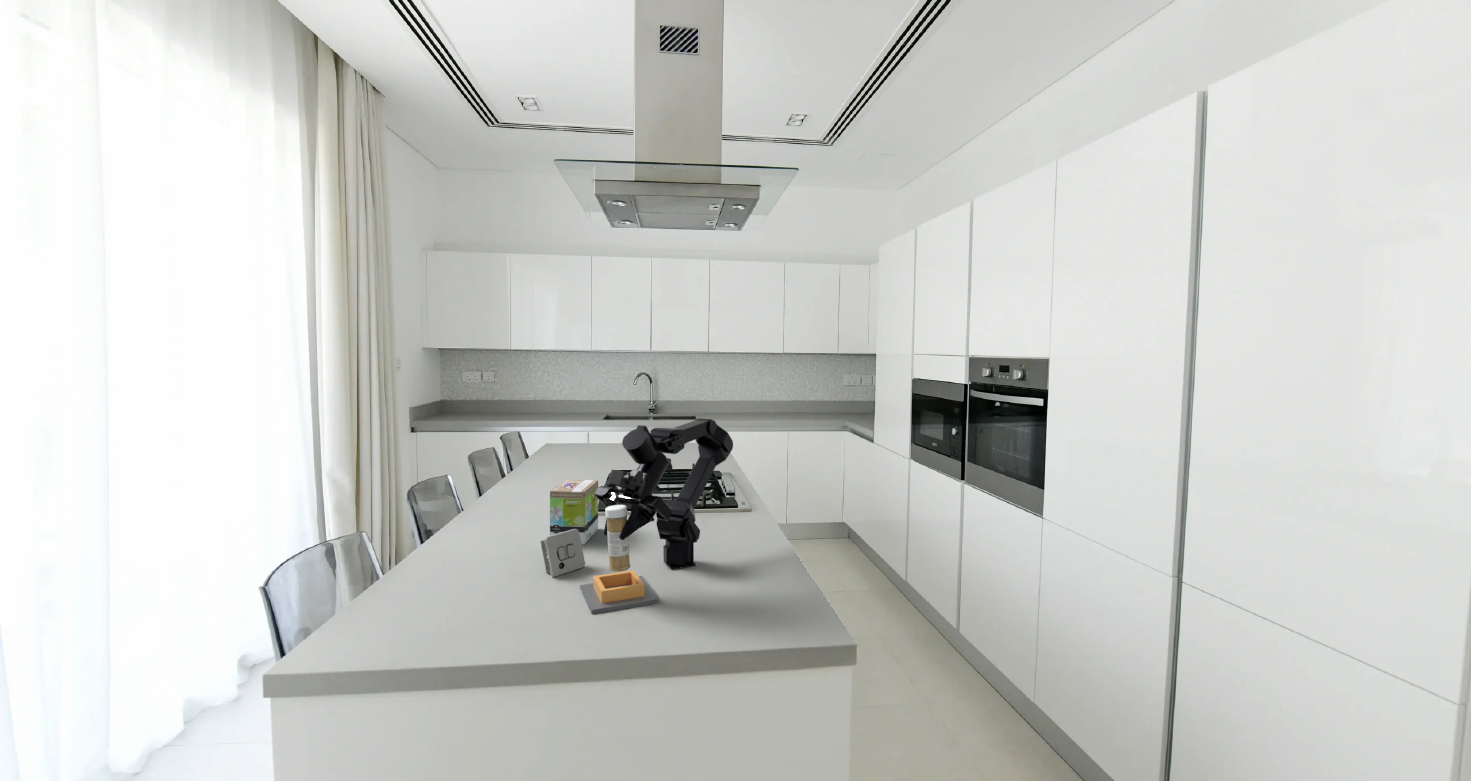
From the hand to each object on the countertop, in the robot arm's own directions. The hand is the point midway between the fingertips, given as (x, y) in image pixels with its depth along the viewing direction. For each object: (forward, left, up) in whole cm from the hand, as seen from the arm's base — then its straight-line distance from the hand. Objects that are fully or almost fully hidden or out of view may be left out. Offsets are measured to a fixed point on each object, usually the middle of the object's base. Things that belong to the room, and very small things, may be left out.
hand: (613, 536), depth 132 cm
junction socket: (-1, -1, -13) cm, 13 cm away
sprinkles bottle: (-1, 0, -7) cm, 8 cm away
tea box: (+1, -46, -13) cm, 48 cm away
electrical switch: (+8, -21, -13) cm, 26 cm away
